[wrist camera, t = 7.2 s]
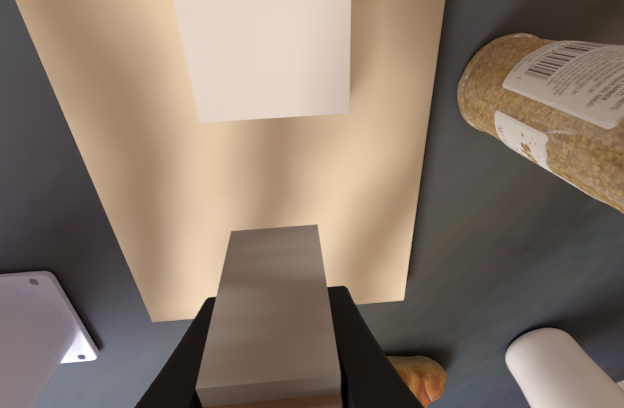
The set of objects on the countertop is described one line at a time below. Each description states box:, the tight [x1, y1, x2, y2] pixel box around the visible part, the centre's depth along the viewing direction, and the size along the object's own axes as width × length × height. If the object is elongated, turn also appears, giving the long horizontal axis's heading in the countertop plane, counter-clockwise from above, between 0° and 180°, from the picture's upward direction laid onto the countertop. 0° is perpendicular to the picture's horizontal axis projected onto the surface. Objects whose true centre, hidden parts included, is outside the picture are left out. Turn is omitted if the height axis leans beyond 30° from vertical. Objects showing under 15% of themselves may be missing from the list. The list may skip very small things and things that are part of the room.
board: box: [15, 0, 445, 322], centre depth 17 cm, size 16×20×1 cm
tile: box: [173, 0, 351, 123], centre depth 13 cm, size 6×2×6 cm
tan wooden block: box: [195, 224, 342, 408], centre depth 9 cm, size 3×3×5 cm
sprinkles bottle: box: [457, 33, 624, 213], centre depth 10 cm, size 5×5×14 cm
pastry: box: [387, 356, 447, 408], centre depth 27 cm, size 9×7×4 cm
